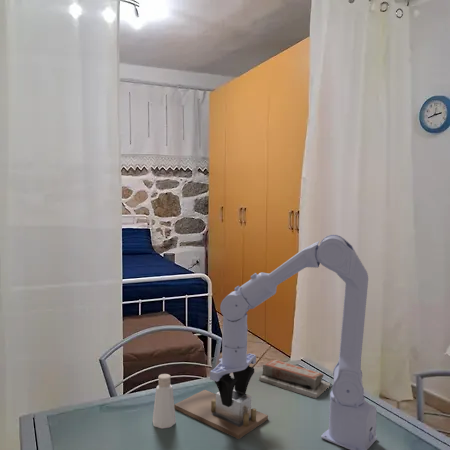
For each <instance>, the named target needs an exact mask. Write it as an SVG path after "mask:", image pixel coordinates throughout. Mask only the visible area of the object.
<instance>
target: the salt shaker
mask: <svg viewBox="0 0 450 450" xmlns="http://www.w3.org/2000/svg"><path fill="white" fill-rule="evenodd" d="M171 377H172V376H171V375H170V374H168V373H161V374H159V375H158V377H157V378H158V385H157V386H156V388H155V395H154V405H153V411H152V412H153V413H152V424H153V427H155V428H158V429H168V428H172V426H175V424H176V423H177V422H176V409H175V408H174V404H175V399H174V397H175V396H174V389H173V386H172V384H171Z"/></svg>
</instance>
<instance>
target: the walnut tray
mask: <svg viewBox="0 0 450 450" xmlns="http://www.w3.org/2000/svg"><path fill="white" fill-rule="evenodd" d="M174 408H175V411H176V410H177V411H178V412H180V413H182V414H185V415H187V416H189V417H191V418H193V419H195V420H197V421H200V422H202V423H203V424H206V425H208V426H210V427H212V428H214V429H216V430H218V431H221V432H223V433H225V434H227V435H229V436H231V437H234V438H235V439H238V440H240V439H241V438H243V437H244V436H246V435H247V434H249V433H251V432H252V431H253V430H254V429H256V428H257V427H259V426H260V425H262V424H263V423H265V422H266V421H268V420H269V415H268V414H265V413H263V412H260V411H258V410H257V409H256V408H251V417H250V418H249V414H248V413H244V415H243V422H242V423H241V424H237V423H235V422H233V421H230V420H228V419H226V418H224V417H221V416H219V415H217V414H216V393H214V392H211V391H209V390H207V389H203V390H201V391H199V392H196V393H194V394H193V395H191V396H189V397H187V398H185V399H182V400H181V401H178V402H176V403H174Z"/></svg>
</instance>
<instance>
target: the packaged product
mask: <svg viewBox="0 0 450 450" xmlns="http://www.w3.org/2000/svg"><path fill="white" fill-rule="evenodd" d="M323 377H324V374H323V373H321V372H317V371H315V370H312V369H308V368H305V367H302V366H298V365H295V364H292V363H288V362H285V361H282V360H278V359H273V358H272V359H271V360H269V361H268V362H266V363H264V364H263V366H262V374H259V377H258V380H259V381H261V382H263V383H267V384H270V385H273V386H276V387H278V388H281V389H285V390H287V391H290V392H293V393H298V394H300V395H303V396H306V397H310V398H313V399H318V398H319V397H320V396H321V395H322V394H323V393H325V392H327V390H328V389H330V388H329V386H330V383H331V382H327V381H325V380H322V379H323ZM330 387H331V386H330ZM327 388H328V389H327ZM326 389H327V390H326ZM324 391H325V392H324Z"/></svg>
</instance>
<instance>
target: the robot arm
mask: <svg viewBox="0 0 450 450" xmlns="http://www.w3.org/2000/svg"><path fill="white" fill-rule="evenodd" d="M320 265H322V266H323V267H325V269H328V270H330V271H332V272H334V273H335V274H336V275H337V276H338V277H339V278H340V279H341V280H342V281H343V282H344V283H345V289H344V299H343V310H342V311H343V312H342V321H341V322H342V323H341V333H340V343H339V344H340V345H339V354H338V361H337V363H336V364H335V366H334V368H333V374H332V375H333V383H332V385H331V391H330V393H329V412H328V413H329V416H328V417H329V418H328V429H327V430H325V431H324V432H323V433H322V434H321V435H320V437H321V439H323V440H324V441H325V440H326V441H328V442H330V443H333V444H335V445H337V446H341V447H343V448H345V449H348V450H368V449H370V447H371V446H372V445H373V444H374V443H375V442H376V441H377V439H378V437H377V408H376V406H375V405H372V404H370V403H369V402H368V401H367V400H366V398H365V391H364V385H363V383H364V382H363V370H362V351H363V341H364V330H365V329H364V328H365V320H366V319H365V318H366V309H367V297H368V285H369V273H368V271H367V269H366V268H365V266H364V264H363V262H362V260H361V259H360V257H359V255H358V254H357V252H356V250H355V249H354V247H353V245H352V244H351V243H349V242H348V241H347V240H346V239H345V238H344V237H342V236H340V235H338V234H330V235H326V236H324V238H323V239H321V241H320V240H318V241H316V242H314V243H312V244H310V245H308V246H305V247H304V248H303V249H301V250H300V251H298V252H297V253H296V254H294V255H293V256H292V257H290V258H289V259H287V260H286V261H285V262H283V263H282V264H281V265H279V266H278V267H277V268H275V269H273V270H272V271H271V272H270V273H267V272H263V271H262V272H259V273H258V274H257V272H254V273H253V274H252V275H250V279H249V280H248V281H246V282H245V283H243V284H241V286H240V285H237V286H235V287H234V291H233V290H232V291H231V292H230V293H229V294H227V295H226V296H225V297H224V298H223V299H222V301H221V303H220V309H219V310H220V313H221V315H222V316H223V317H222V334H221V336H222V337H221V338H222V339H221V341H222V344H221V347H222V348H221V358H219V359H218V364H217V365H216V366H215V367H214V368H213V369H211V370H209V380H211V381H213V382H214V383H215V384H216V387H217V389H218V392H219V393H220V396H221V401H222V404H223V405H225V406H227V407H230V406H231V403H232V394H233V389H234V390H237V391H240V392H242V393H245V394H247V389H248V386H249V383H250V381H251V380H252V379H251V378H252V377H253V375H254V374H255V368H254V367H252V366H250V365H251V364H252V365H254V364H257V355H256V354H253V353H248V312H249V310H254V309H255V308H257V307H258V306H260V305H261V304H262V303H264V302H266V301H267V300H268V299H270V298H271V297H273V296H275V295H276V293H277V288H278V285H280V284H281V283H284V282H285V281H286V280H288V279H290V278H291V277H293V276H294V275H296V274H297V273H299V272H300V271H303V270H304V269H306V268H315V269H316V268H318V269H319V267H320ZM231 374H233V377H232V375H231Z"/></svg>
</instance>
